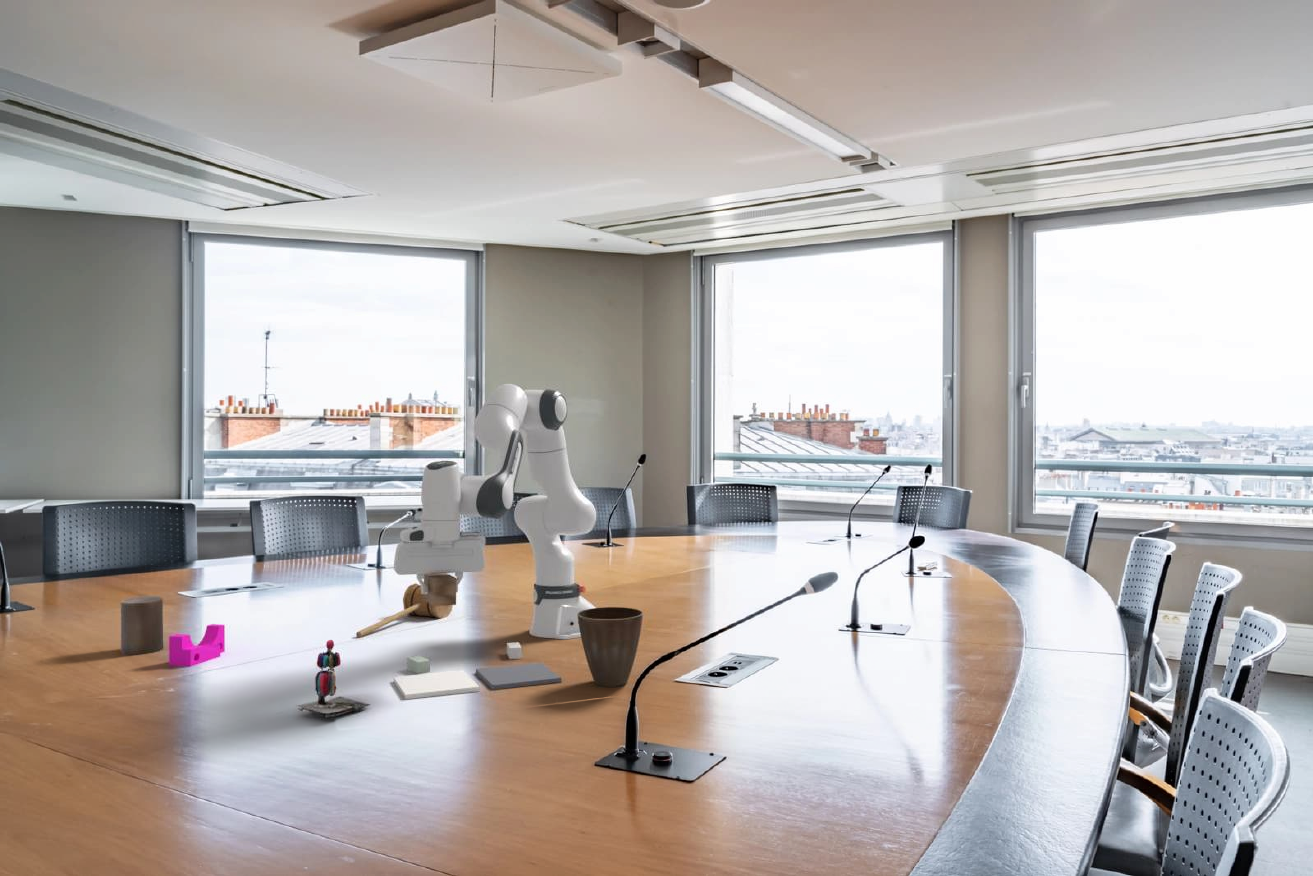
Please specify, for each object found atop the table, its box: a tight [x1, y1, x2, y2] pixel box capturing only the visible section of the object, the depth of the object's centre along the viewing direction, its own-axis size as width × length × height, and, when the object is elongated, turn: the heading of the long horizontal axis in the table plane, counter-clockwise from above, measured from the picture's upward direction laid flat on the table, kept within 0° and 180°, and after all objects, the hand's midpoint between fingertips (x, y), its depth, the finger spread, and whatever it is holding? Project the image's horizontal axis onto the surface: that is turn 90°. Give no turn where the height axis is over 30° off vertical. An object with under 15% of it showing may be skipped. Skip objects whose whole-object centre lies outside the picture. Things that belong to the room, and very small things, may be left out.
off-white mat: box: [393, 669, 480, 700], centre depth 215 cm, size 16×16×1 cm
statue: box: [297, 639, 371, 718], centre depth 195 cm, size 11×9×15 cm
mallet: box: [355, 583, 454, 638], centre depth 281 cm, size 12×38×10 cm, turn 158°
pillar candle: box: [120, 594, 164, 656], centre depth 248 cm, size 10×10×15 cm
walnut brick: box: [423, 573, 457, 606], centre depth 218 cm, size 5×10×6 cm, turn 27°
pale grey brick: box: [506, 641, 523, 660], centre depth 244 cm, size 6×3×3 cm, turn 15°
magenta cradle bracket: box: [168, 623, 226, 667], centre depth 240 cm, size 15×6×8 cm, turn 165°
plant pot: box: [577, 606, 644, 688], centre depth 218 cm, size 15×15×16 cm
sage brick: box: [406, 655, 431, 675], centre depth 229 cm, size 6×3×3 cm, turn 41°
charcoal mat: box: [475, 661, 562, 691], centre depth 223 cm, size 16×16×1 cm
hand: (439, 593), depth 218 cm, fingers closed on walnut brick, 5 cm apart
